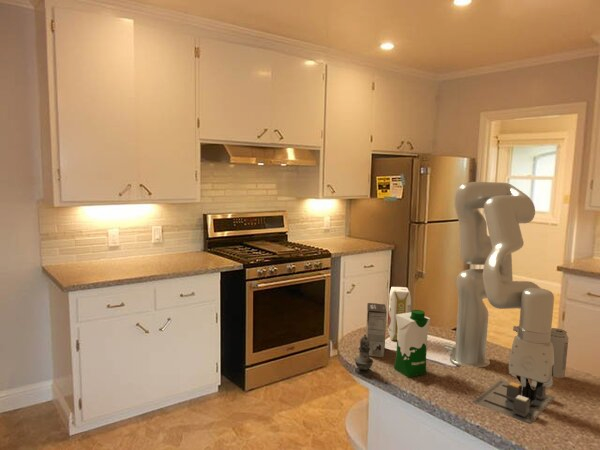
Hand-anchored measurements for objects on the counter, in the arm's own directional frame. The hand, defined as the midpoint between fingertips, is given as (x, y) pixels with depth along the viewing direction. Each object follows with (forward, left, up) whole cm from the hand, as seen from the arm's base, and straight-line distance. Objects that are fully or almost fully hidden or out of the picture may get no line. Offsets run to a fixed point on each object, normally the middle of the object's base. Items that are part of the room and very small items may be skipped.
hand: (528, 400), depth 121 cm
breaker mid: (-4, 0, -1) cm, 4 cm away
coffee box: (-51, +2, -2) cm, 51 cm away
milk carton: (-34, -3, -2) cm, 34 cm away
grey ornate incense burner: (-44, -14, -2) cm, 46 cm away
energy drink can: (-1, +27, -2) cm, 27 cm away
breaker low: (0, -7, -1) cm, 7 cm away
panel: (-4, 0, -2) cm, 4 cm away
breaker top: (0, +6, -1) cm, 6 cm away
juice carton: (-53, +20, -2) cm, 57 cm away
